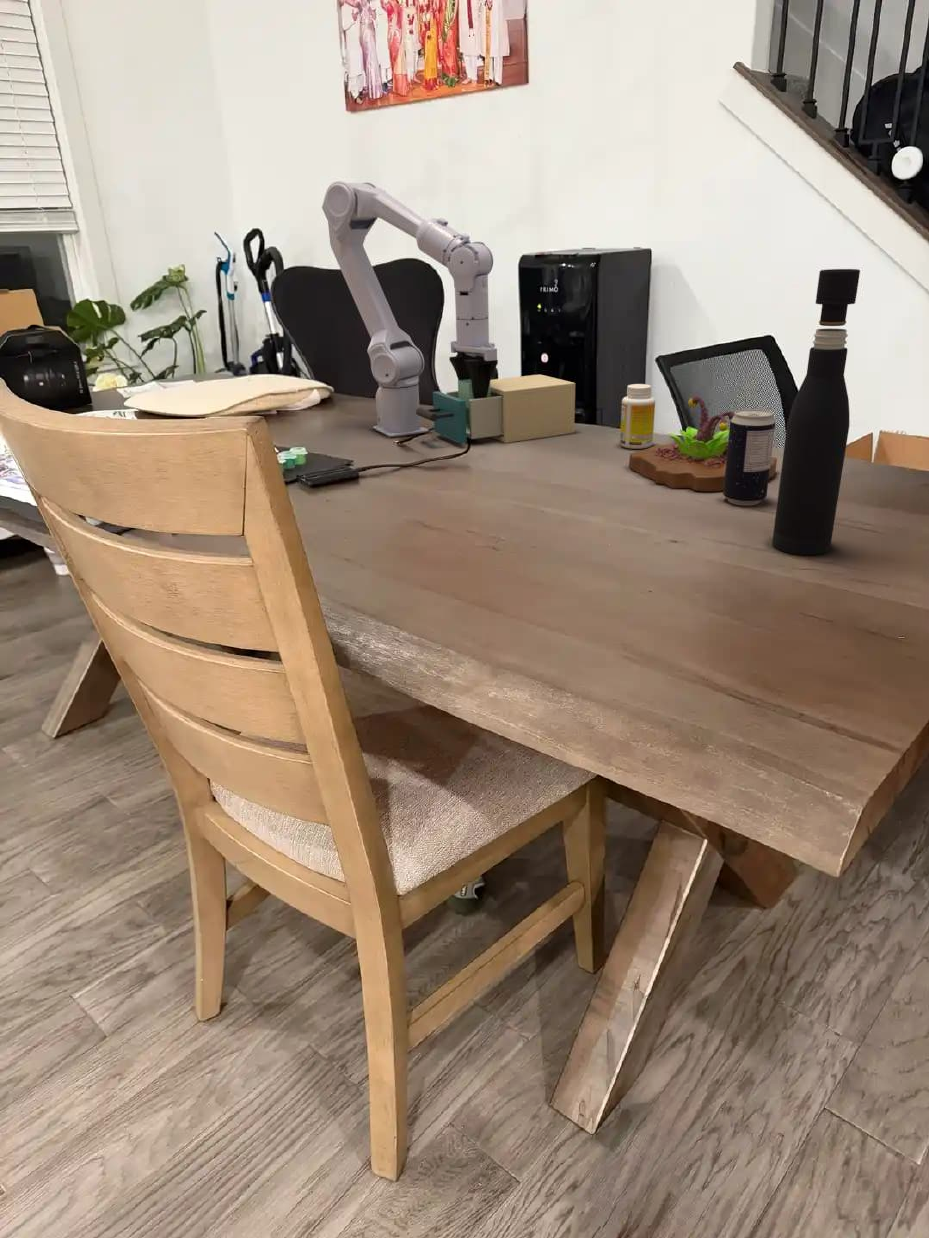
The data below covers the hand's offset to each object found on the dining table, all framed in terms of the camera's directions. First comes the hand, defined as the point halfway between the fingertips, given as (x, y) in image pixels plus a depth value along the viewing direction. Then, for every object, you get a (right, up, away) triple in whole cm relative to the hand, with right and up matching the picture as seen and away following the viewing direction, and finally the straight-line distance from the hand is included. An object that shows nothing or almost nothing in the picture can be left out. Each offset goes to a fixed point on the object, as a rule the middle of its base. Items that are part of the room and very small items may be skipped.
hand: (474, 398), depth 153 cm
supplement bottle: (+28, -10, -6) cm, 30 cm away
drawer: (-1, -6, +2) cm, 7 cm away
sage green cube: (0, -1, +1) cm, 1 cm away
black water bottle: (+38, -32, -53) cm, 73 cm away
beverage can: (+37, -24, -37) cm, 57 cm away
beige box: (+9, -5, +7) cm, 13 cm away
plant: (+35, -17, -23) cm, 45 cm away
